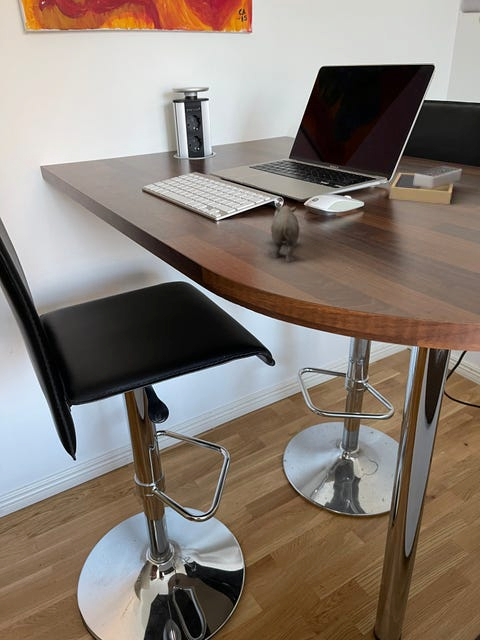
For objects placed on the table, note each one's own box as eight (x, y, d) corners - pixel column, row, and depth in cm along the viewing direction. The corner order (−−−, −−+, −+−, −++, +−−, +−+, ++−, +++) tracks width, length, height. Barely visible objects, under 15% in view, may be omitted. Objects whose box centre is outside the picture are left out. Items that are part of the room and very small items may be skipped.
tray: (397, 184, 110) (399, 172, 109) (451, 188, 106) (454, 176, 105) (388, 199, 99) (390, 187, 97) (449, 205, 95) (451, 192, 94)
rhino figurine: (297, 232, 82) (299, 195, 79) (298, 264, 70) (301, 222, 67) (272, 231, 82) (273, 195, 79) (269, 263, 70) (270, 222, 67)
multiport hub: (411, 185, 99) (413, 173, 98) (440, 176, 105) (442, 165, 104) (432, 189, 96) (434, 177, 95) (460, 180, 102) (462, 168, 101)
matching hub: (401, 183, 108) (402, 174, 107) (420, 185, 107) (422, 175, 106) (394, 196, 99) (396, 186, 98) (415, 198, 98) (417, 187, 97)
